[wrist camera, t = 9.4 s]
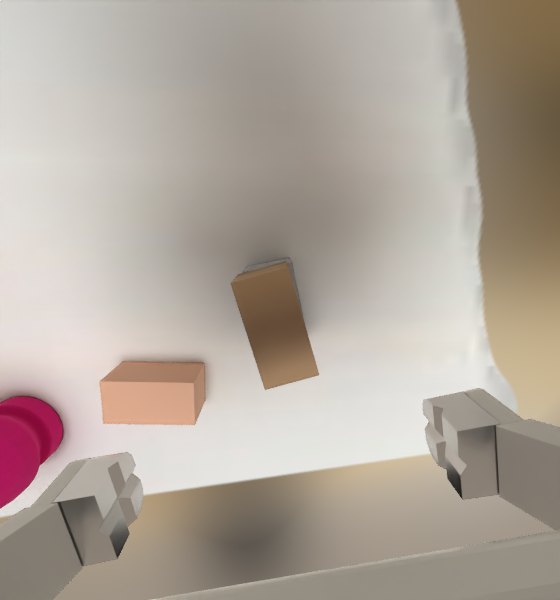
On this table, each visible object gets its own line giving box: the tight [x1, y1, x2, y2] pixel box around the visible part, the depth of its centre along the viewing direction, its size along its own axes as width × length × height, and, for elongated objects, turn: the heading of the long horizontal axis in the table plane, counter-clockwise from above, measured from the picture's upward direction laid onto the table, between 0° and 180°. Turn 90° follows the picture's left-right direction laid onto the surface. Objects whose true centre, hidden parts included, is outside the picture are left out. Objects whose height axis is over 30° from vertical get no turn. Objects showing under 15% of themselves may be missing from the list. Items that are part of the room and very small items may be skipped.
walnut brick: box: [231, 261, 319, 390], centre depth 22 cm, size 7×4×4 cm, turn 16°
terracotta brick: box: [100, 362, 205, 425], centre depth 27 cm, size 7×4×4 cm, turn 88°
